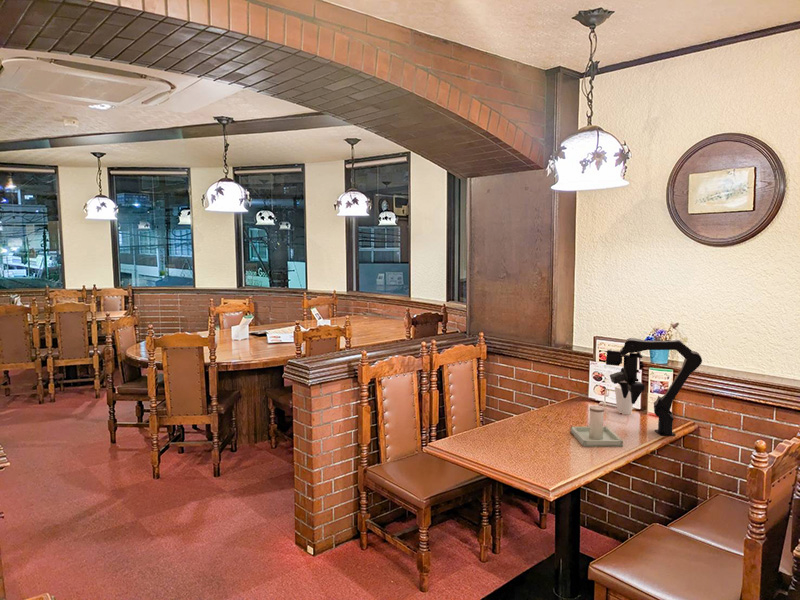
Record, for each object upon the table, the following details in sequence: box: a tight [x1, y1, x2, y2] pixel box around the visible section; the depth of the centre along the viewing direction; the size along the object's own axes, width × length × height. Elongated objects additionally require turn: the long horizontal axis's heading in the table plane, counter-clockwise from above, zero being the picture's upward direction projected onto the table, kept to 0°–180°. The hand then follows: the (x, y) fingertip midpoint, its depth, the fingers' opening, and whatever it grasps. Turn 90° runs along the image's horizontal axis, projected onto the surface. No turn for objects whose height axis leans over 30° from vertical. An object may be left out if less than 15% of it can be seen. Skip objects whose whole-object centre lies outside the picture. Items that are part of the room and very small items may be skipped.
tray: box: [570, 426, 624, 448], centre depth 240 cm, size 18×16×2 cm
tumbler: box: [588, 405, 605, 440], centre depth 239 cm, size 6×6×13 cm
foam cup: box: [614, 384, 634, 415], centre depth 276 cm, size 10×9×13 cm
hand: (628, 400), depth 252 cm, fingers open, 9 cm apart
